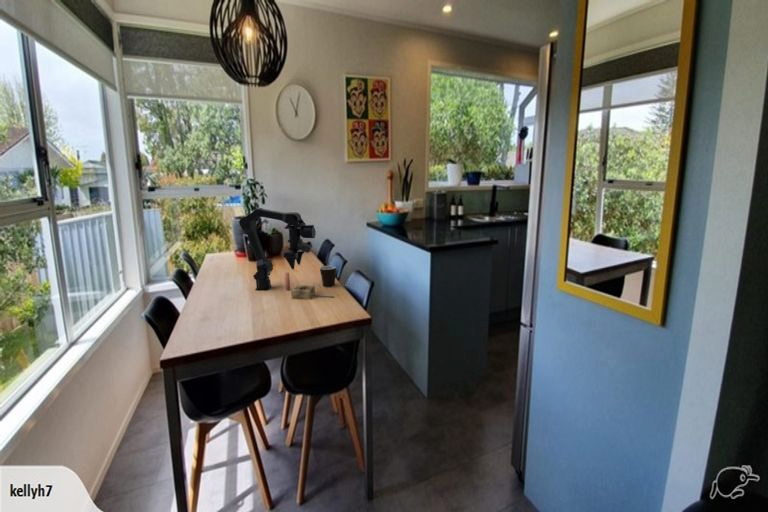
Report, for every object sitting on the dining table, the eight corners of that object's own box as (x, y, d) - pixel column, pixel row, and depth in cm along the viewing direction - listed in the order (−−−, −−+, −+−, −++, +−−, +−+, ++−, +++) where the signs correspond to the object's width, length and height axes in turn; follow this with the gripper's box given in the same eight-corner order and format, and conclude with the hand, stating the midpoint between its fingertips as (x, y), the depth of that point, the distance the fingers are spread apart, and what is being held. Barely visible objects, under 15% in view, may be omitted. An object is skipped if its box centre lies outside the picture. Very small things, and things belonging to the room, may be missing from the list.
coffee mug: (333, 288, 196) (332, 270, 193) (318, 287, 197) (317, 269, 195) (340, 281, 207) (339, 264, 204) (326, 280, 208) (325, 263, 206)
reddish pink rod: (285, 290, 194) (283, 273, 191) (286, 288, 196) (285, 272, 194) (289, 290, 193) (288, 273, 191) (291, 288, 196) (289, 272, 193)
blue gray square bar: (313, 296, 184) (313, 295, 184) (314, 295, 185) (314, 294, 185) (333, 297, 181) (333, 297, 181) (334, 297, 182) (334, 296, 182)
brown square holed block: (291, 298, 181) (291, 291, 180) (298, 292, 189) (297, 285, 188) (309, 299, 180) (309, 291, 179) (315, 293, 188) (314, 285, 188)
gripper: (304, 241, 178) (305, 272, 182) (315, 234, 196) (316, 263, 200) (282, 240, 179) (283, 271, 183) (295, 234, 197) (296, 262, 201)
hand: (296, 266), depth 191 cm, fingers open, 9 cm apart
